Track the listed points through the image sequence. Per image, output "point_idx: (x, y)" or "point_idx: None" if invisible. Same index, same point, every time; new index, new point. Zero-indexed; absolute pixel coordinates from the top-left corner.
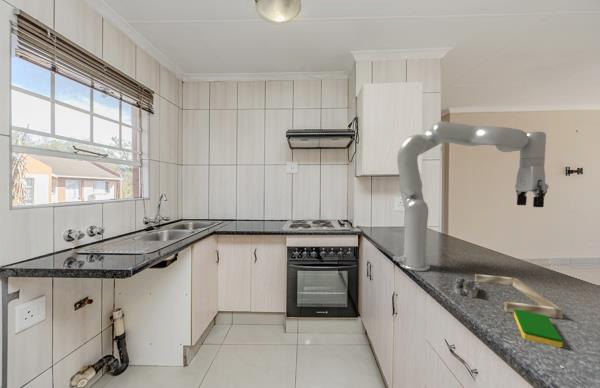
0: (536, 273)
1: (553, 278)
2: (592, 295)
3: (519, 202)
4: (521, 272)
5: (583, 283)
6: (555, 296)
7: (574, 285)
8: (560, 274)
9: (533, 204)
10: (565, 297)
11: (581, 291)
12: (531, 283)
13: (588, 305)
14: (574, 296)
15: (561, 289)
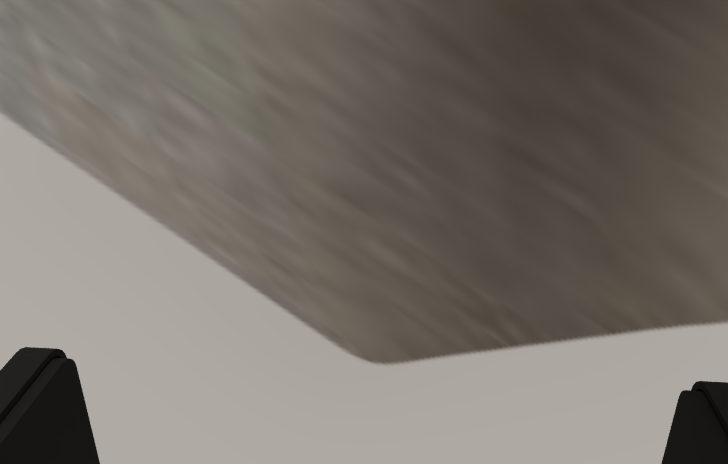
0: (553, 206)
1: (457, 242)
2: (195, 240)
3: (705, 458)
4: (567, 113)
5: (391, 339)
6: (103, 20)
7: (343, 268)
8: (548, 339)
9: (21, 380)
10: (108, 70)
11: (245, 231)
12: (317, 24)
13: (26, 109)
14: (144, 134)
15: (247, 144)
